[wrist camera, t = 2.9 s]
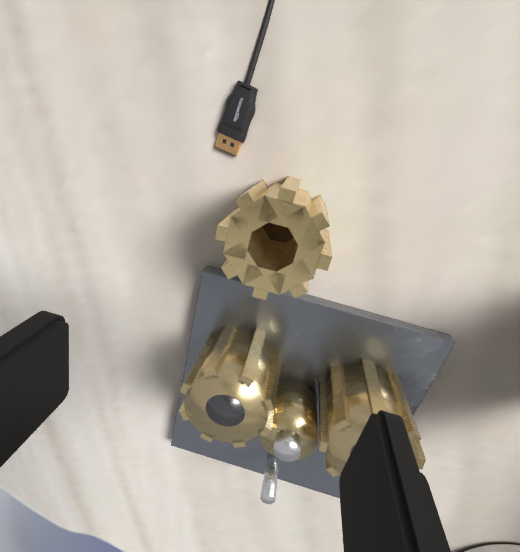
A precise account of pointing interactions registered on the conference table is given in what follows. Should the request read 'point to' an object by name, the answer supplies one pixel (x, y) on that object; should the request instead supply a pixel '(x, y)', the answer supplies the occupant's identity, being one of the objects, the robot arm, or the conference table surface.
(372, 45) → the conference table surface
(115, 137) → the conference table surface
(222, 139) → the cable
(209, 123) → the conference table surface
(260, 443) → the carrier
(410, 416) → the seated gear
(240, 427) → the seated gear
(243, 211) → the gear
